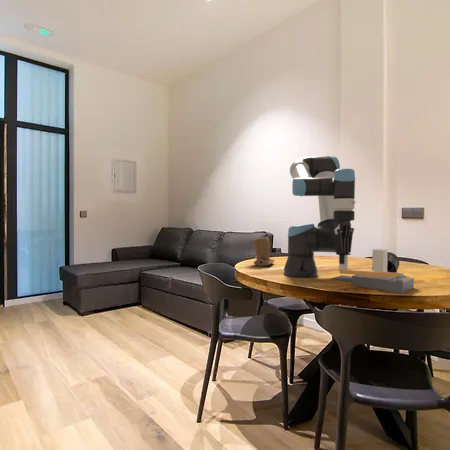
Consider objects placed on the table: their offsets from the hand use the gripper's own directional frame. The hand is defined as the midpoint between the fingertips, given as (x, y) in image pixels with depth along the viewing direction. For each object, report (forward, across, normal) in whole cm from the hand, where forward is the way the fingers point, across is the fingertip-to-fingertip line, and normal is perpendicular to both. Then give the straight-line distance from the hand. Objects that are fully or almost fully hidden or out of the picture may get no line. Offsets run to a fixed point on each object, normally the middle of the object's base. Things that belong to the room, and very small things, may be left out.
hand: (343, 271), depth 122 cm
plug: (+5, +10, -10) cm, 15 cm away
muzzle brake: (+7, +31, -5) cm, 32 cm away
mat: (+6, +14, +4) cm, 16 cm away
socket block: (+6, +10, -11) cm, 16 cm away
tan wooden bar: (0, +2, -9) cm, 10 cm away
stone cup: (+6, +19, +55) cm, 59 cm away
